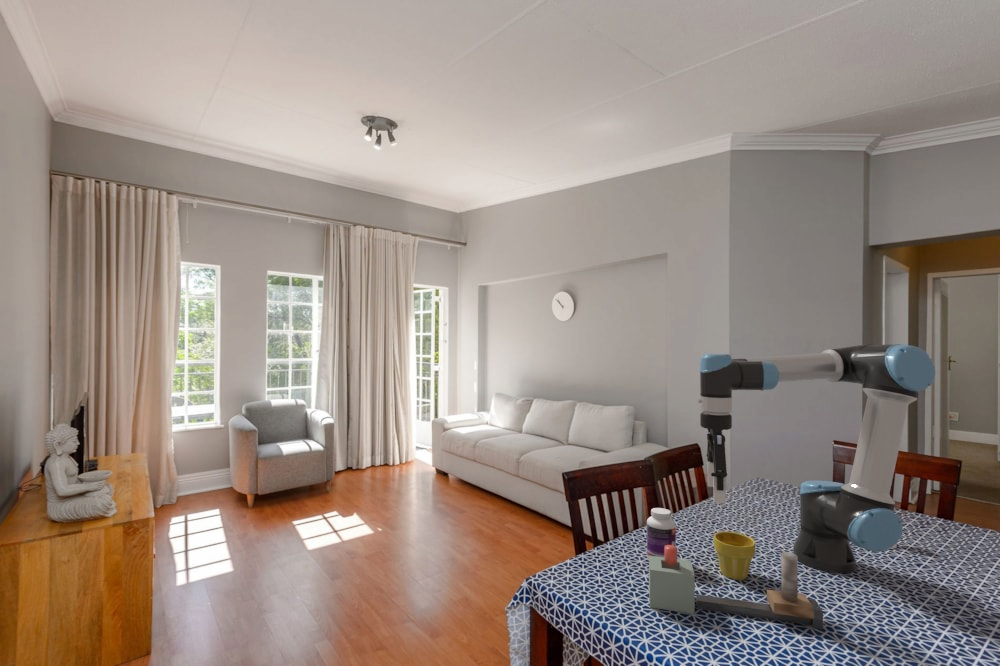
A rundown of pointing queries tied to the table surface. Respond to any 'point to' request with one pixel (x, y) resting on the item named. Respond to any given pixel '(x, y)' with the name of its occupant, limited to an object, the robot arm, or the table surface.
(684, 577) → the switch box
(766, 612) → the rail
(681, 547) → the table surface
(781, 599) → the carriage
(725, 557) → the plant pot
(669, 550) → the plunger
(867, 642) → the table surface
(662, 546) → the pill bottle
